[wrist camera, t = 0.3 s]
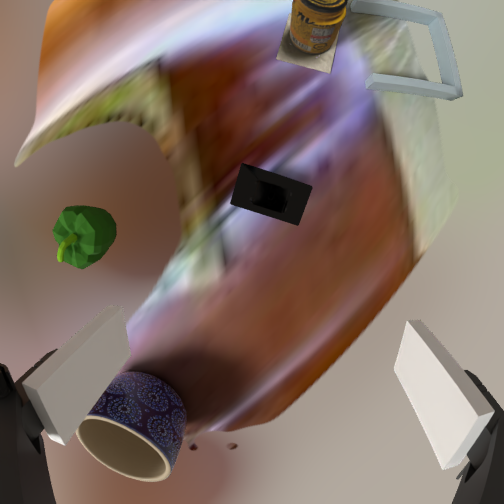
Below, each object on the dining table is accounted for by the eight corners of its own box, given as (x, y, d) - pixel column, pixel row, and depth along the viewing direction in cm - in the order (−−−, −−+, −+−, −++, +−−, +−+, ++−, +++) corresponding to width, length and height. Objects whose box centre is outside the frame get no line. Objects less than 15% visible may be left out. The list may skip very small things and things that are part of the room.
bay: (350, 6, 30) (355, -6, 26) (432, 21, 28) (441, 12, 25) (366, 89, 33) (373, 81, 30) (451, 100, 32) (463, 96, 28)
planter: (166, 436, 50) (144, 490, 36) (100, 389, 49) (64, 436, 34) (211, 400, 46) (192, 465, 32) (133, 343, 45) (90, 397, 30)
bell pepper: (99, 189, 39) (57, 194, 29) (134, 227, 40) (97, 242, 30) (72, 228, 41) (31, 242, 31) (104, 265, 42) (67, 287, 32)
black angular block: (325, 184, 37) (331, 185, 33) (306, 236, 39) (310, 244, 35) (233, 154, 37) (228, 151, 33) (217, 207, 39) (210, 211, 35)
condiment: (340, 26, 31) (359, -18, 19) (329, 74, 33) (349, 36, 21) (289, 13, 31) (292, -35, 19) (276, 60, 33) (275, 17, 21)
